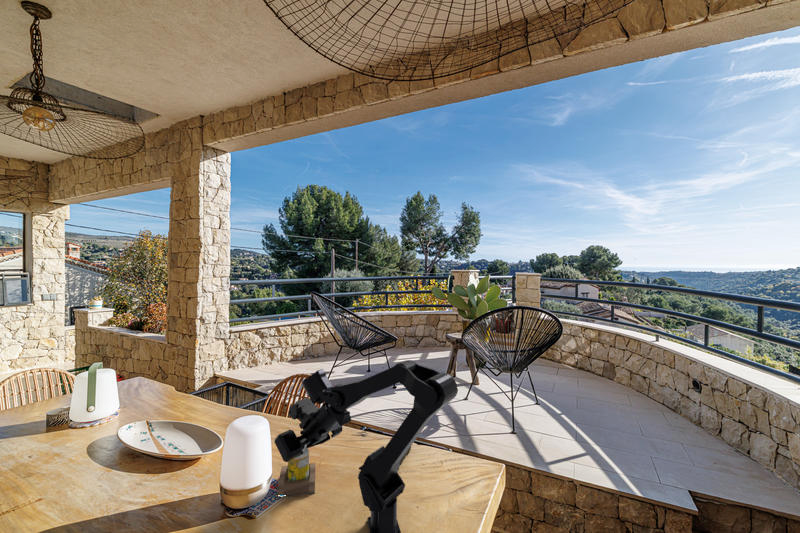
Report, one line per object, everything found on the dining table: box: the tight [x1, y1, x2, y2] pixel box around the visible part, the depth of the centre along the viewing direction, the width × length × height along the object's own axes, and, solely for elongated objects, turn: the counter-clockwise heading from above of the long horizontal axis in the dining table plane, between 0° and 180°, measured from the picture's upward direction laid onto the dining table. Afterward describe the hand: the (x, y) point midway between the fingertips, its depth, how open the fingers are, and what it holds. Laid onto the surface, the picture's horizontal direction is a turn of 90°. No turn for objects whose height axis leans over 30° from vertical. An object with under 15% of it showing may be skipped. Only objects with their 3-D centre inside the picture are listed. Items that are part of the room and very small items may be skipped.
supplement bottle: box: [287, 444, 310, 481], centre depth 91 cm, size 5×5×10 cm
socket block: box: [276, 462, 316, 498], centre depth 91 cm, size 9×9×3 cm
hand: (295, 451), depth 92 cm, fingers closed on supplement bottle, 5 cm apart
